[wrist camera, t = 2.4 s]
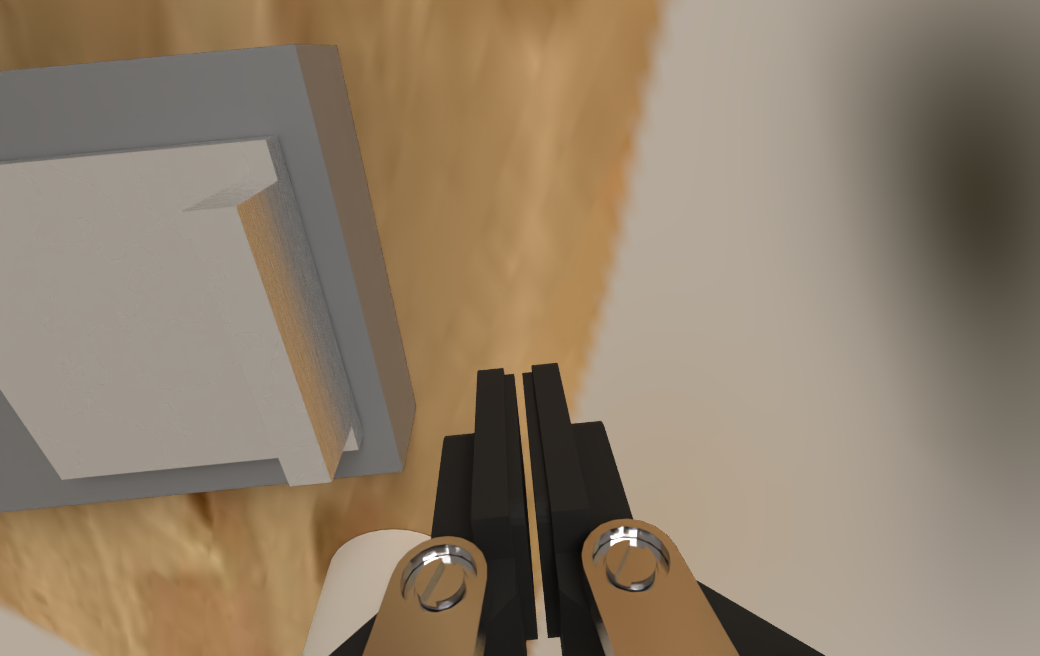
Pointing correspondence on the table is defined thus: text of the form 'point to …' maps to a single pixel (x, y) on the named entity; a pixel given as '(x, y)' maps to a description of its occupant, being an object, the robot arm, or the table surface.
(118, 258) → the panel
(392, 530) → the cylindrical container
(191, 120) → the socket block
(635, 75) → the table surface
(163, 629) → the table surface
